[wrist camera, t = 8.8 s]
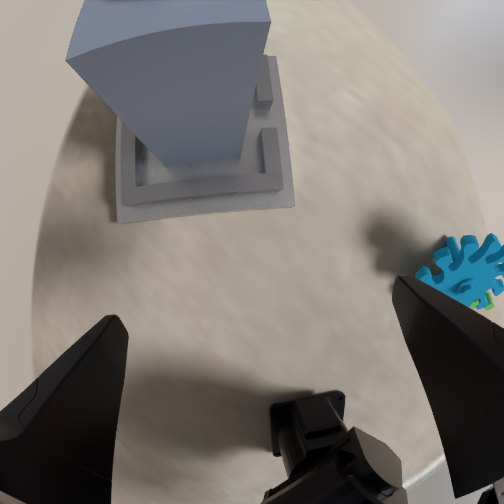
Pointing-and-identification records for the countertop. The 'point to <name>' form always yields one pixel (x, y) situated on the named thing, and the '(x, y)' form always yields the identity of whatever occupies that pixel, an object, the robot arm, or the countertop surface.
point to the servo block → (175, 70)
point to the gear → (468, 270)
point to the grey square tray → (211, 167)
